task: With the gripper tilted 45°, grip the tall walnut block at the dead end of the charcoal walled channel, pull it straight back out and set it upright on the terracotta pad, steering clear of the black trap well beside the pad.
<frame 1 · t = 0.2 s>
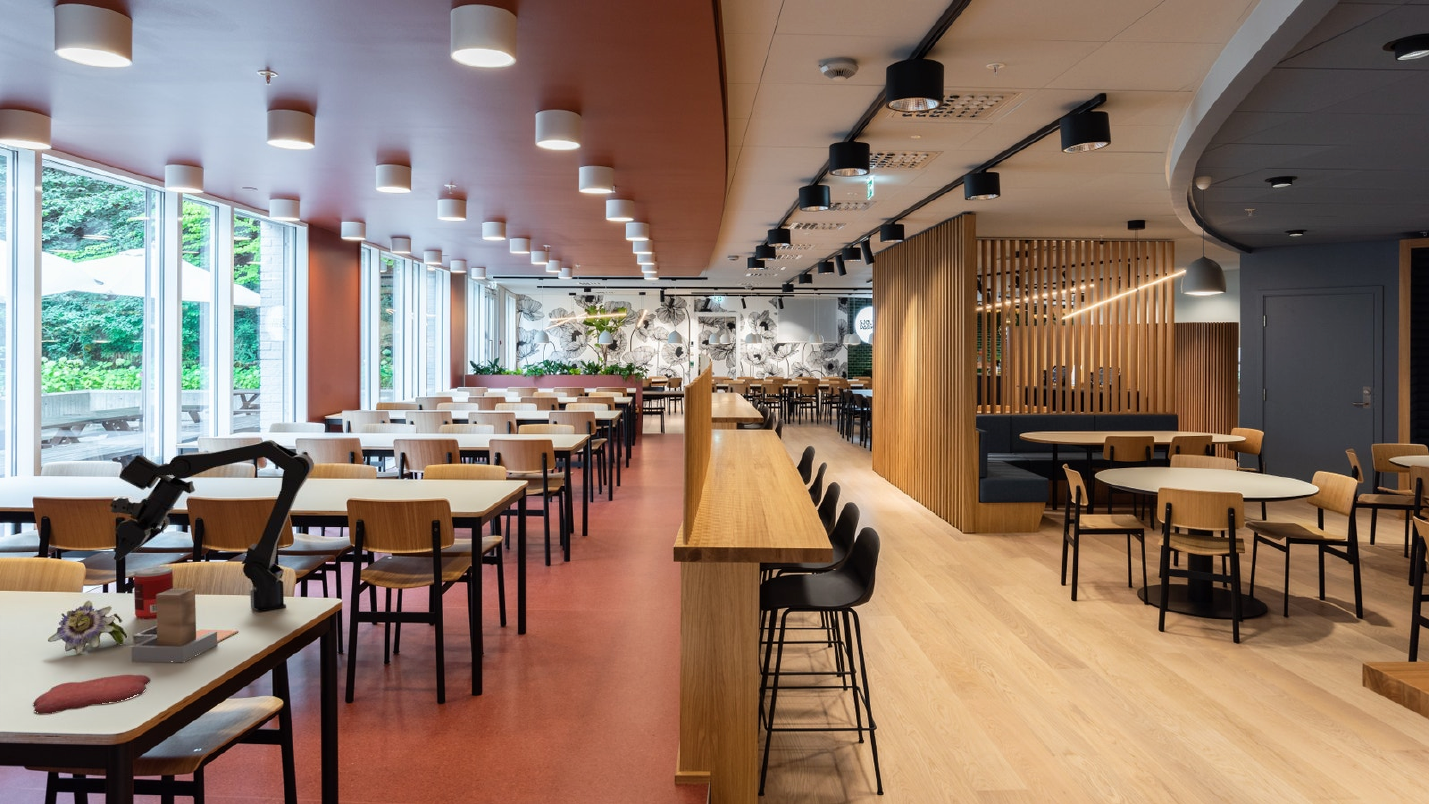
hand: (123, 555, 208), 15 cm above the table, tool tilted 35°, fingers open, 9 cm apart
patty: (93, 697, 161), on the table
canned food: (154, 615, 211), on the table
channel: (177, 652, 184), on the table
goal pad: (206, 638, 194), on the table
passion flower: (89, 648, 187), on the table
walnut block: (176, 622, 184), in the channel
trap well: (163, 636, 194), on the table
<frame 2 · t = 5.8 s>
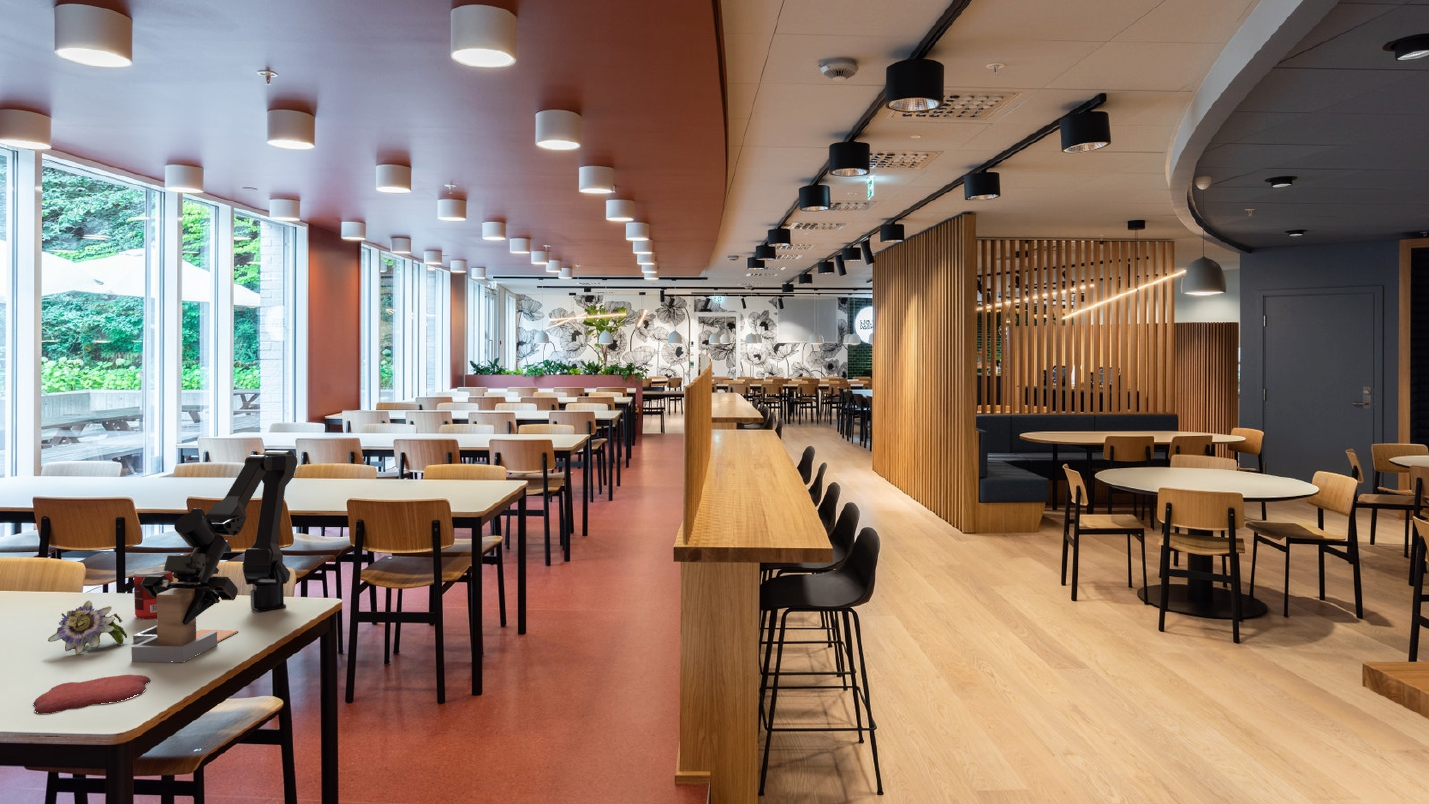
hand: (171, 623, 183), 7 cm above the table, tool tilted 45°, fingers closed on walnut block, 5 cm apart
walnut block: (176, 621, 184), in the channel, touching gripper
everything else where it was.
when the fingers open (7 cm above the table, at t = 9.6 s): walnut block stays where it is, resting on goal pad.
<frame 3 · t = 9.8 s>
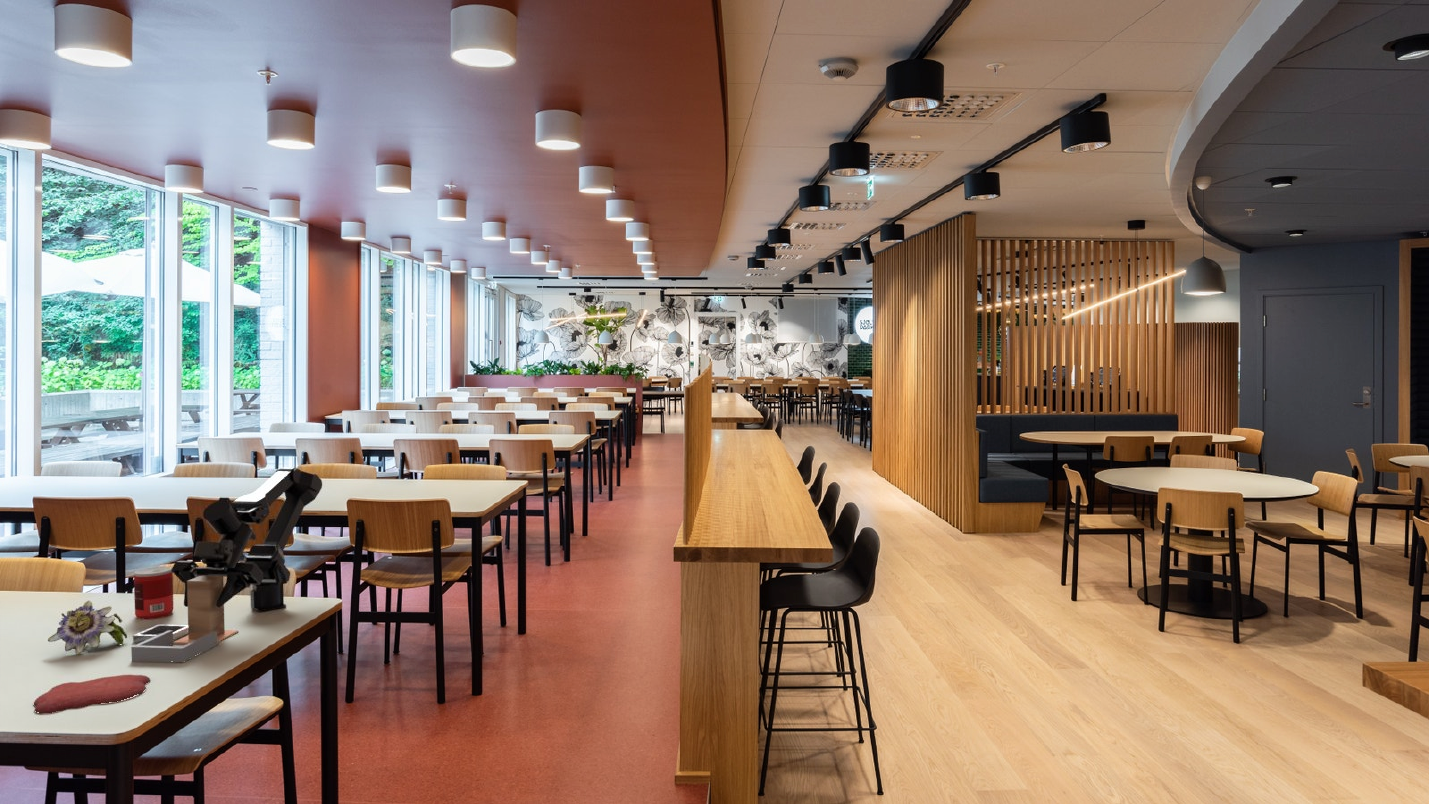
hand: (201, 606, 192), 8 cm above the table, tool tilted 45°, fingers open, 7 cm apart
walnut block: (206, 607, 193), on the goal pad
everything else where it was.
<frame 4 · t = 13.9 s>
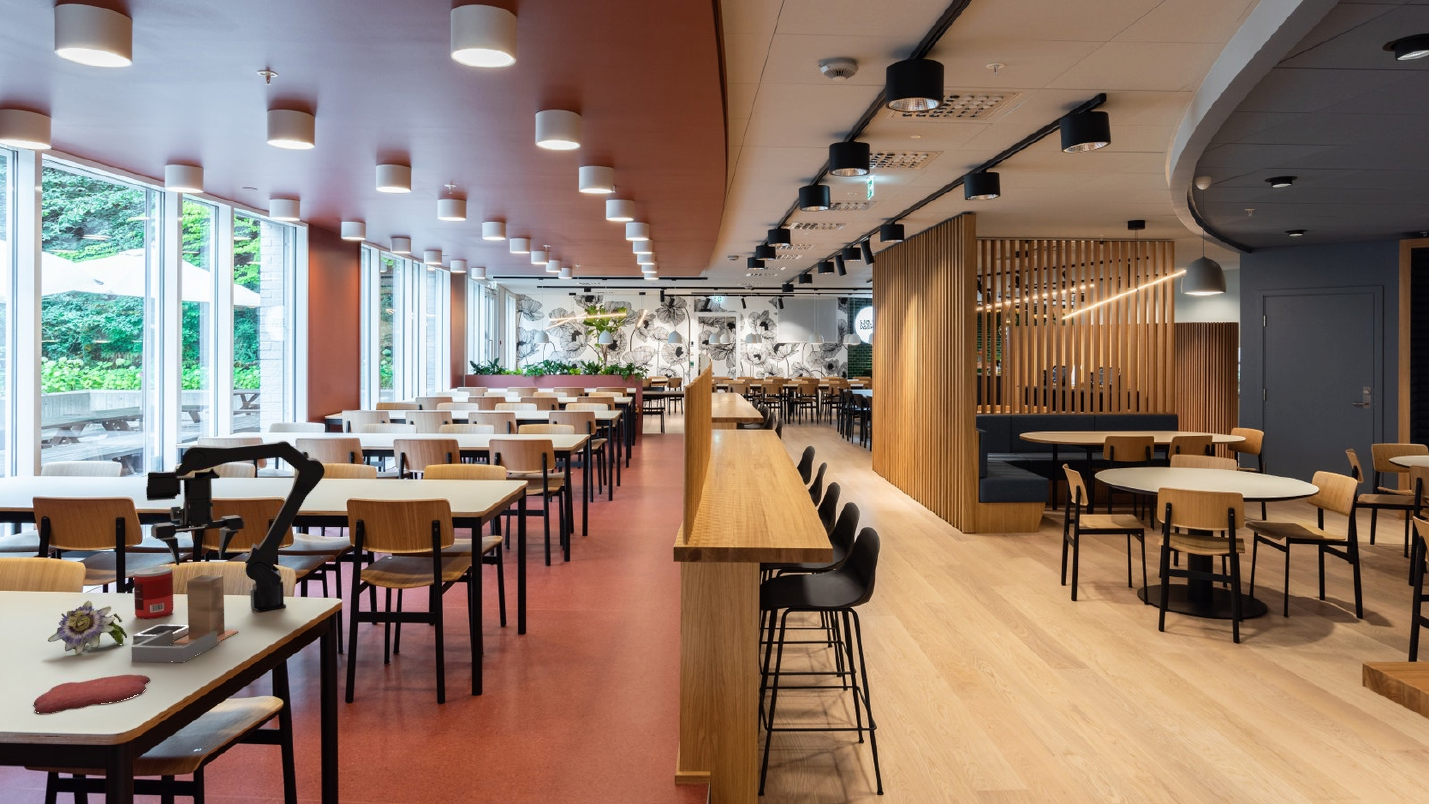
hand: (199, 562, 210), 13 cm above the table, tool pointing down, fingers open, 9 cm apart
nothing on the table moved.
at the end: walnut block 0.1 cm off-centre on the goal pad, point 6.9 cm above the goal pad's base; walnut block tilted 0°; the gripper is holding nothing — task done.
